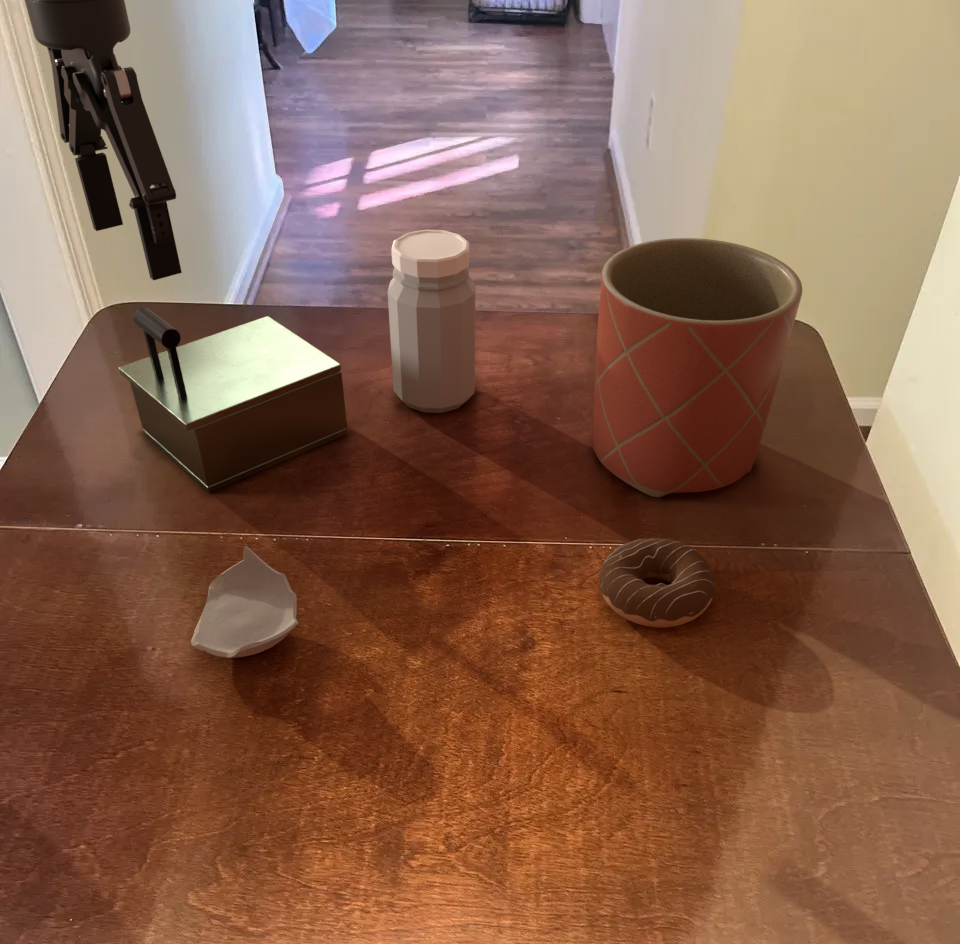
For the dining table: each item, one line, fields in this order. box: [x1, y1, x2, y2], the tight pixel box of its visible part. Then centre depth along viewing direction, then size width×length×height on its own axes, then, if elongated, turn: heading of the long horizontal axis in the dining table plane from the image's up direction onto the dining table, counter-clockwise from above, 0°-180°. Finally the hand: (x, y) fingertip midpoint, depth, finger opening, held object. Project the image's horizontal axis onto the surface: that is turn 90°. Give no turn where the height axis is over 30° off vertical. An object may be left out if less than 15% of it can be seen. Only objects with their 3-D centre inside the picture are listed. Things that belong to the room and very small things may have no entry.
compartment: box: [129, 370, 348, 494], centre depth 108 cm, size 18×15×8 cm
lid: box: [118, 306, 342, 431], centre depth 102 cm, size 18×15×8 cm
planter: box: [591, 237, 803, 499], centre depth 101 cm, size 19×19×20 cm
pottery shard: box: [190, 544, 299, 659], centre depth 86 cm, size 10×11×5 cm
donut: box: [597, 537, 716, 629], centre depth 90 cm, size 11×11×4 cm
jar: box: [387, 229, 476, 414], centre depth 110 cm, size 10×10×18 cm
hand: (136, 250), depth 92 cm, fingers open, 13 cm apart
